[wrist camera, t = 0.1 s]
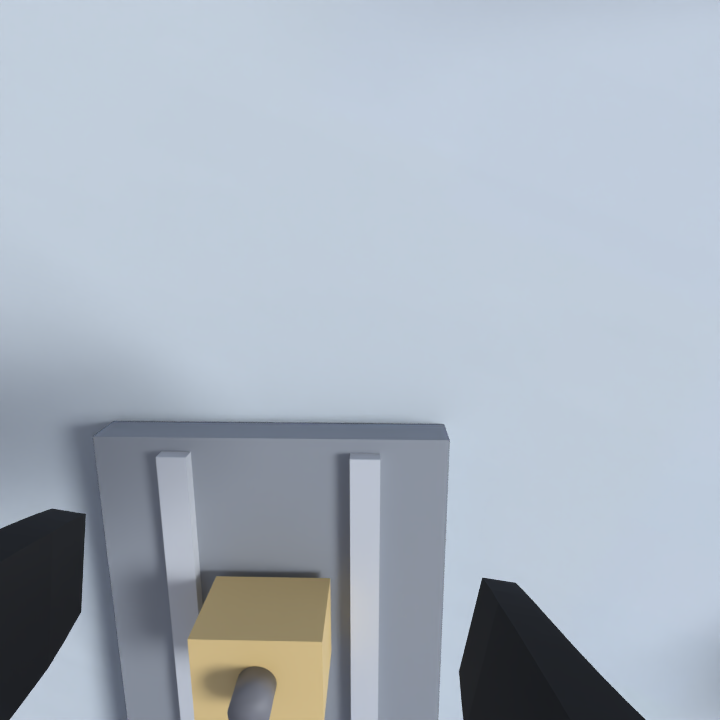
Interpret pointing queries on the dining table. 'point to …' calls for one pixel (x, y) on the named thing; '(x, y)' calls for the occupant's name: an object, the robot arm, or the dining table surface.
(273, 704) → the slider
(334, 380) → the dining table surface
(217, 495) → the gauge plate
